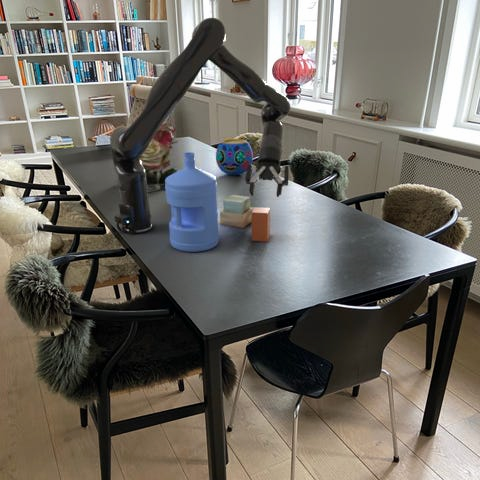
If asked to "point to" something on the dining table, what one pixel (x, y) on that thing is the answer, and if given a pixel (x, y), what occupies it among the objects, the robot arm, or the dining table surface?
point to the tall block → (260, 224)
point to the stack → (236, 211)
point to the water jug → (192, 208)
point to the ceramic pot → (234, 156)
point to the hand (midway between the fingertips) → (264, 195)
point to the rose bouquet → (158, 157)
